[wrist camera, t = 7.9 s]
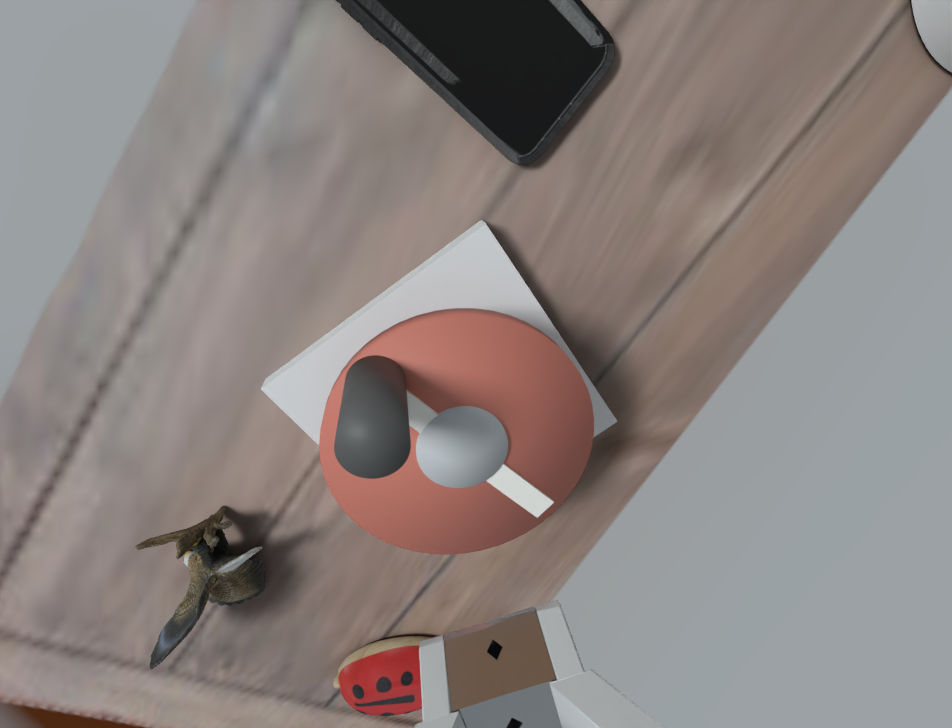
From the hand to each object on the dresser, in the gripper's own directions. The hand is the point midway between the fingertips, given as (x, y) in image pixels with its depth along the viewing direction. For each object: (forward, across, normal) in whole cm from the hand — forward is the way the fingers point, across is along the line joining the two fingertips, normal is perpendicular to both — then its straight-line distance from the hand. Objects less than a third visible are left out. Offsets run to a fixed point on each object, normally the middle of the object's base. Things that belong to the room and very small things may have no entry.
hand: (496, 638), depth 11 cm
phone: (+24, -6, -14) cm, 28 cm away
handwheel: (+18, 0, +6) cm, 19 cm away
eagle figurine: (+23, +19, +13) cm, 32 cm away
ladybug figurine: (+23, +10, +28) cm, 38 cm away
